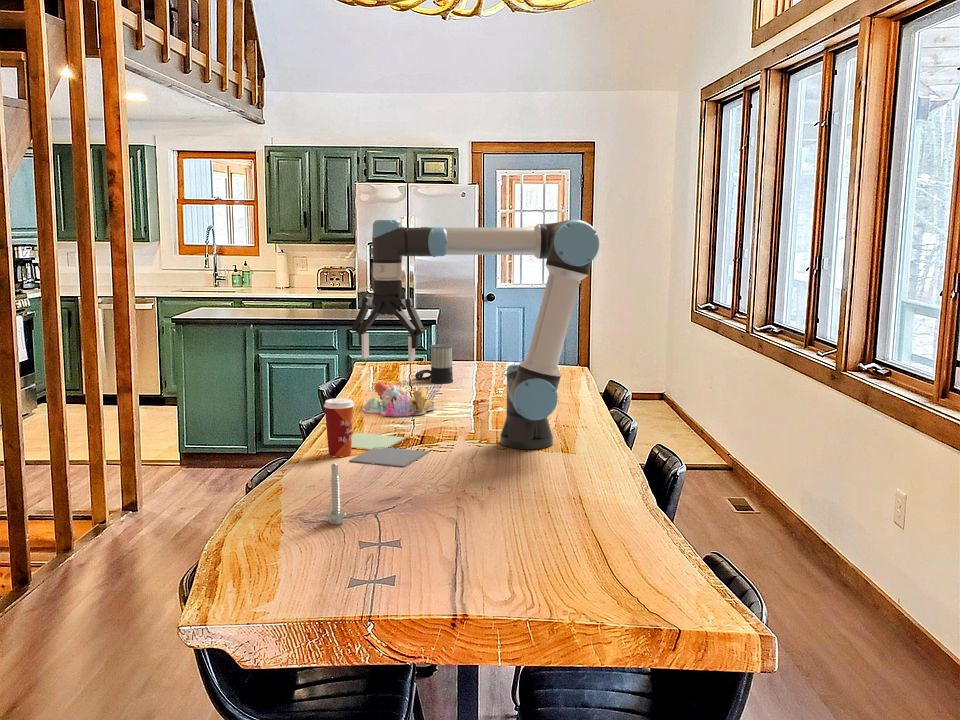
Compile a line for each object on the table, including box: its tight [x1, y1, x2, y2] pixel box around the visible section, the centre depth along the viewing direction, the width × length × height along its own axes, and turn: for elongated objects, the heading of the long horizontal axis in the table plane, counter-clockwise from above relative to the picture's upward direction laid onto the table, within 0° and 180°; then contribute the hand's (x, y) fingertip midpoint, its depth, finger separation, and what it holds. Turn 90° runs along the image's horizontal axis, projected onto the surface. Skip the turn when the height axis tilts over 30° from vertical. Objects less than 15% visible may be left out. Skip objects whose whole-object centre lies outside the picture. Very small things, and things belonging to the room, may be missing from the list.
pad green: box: [351, 432, 406, 451], centre depth 260 cm, size 16×16×1 cm
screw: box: [323, 462, 348, 526], centre depth 189 cm, size 13×5×5 cm
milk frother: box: [414, 343, 454, 384], centre depth 362 cm, size 14×16×15 cm
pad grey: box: [348, 447, 430, 468], centre depth 243 cm, size 16×16×1 cm
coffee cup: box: [323, 397, 355, 458], centre depth 245 cm, size 8×8×15 cm
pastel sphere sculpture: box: [361, 381, 436, 418], centre depth 305 cm, size 25×24×9 cm
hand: (388, 359), depth 239 cm, fingers open, 13 cm apart
